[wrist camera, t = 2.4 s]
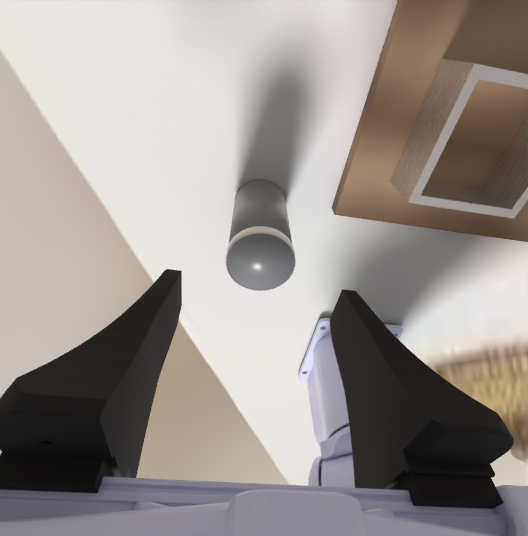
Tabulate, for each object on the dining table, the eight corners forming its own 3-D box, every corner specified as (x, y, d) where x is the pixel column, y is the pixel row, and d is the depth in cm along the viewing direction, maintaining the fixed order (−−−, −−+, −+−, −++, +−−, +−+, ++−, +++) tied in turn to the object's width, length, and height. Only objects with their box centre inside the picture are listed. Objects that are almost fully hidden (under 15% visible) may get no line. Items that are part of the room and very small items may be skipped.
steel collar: (483, 196, 20) (514, 218, 18) (389, 181, 19) (408, 202, 17) (556, 82, 16) (607, 90, 14) (441, 58, 16) (474, 63, 13)
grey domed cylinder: (280, 229, 23) (287, 294, 17) (231, 223, 22) (222, 287, 17) (290, 183, 20) (302, 239, 15) (236, 175, 20) (228, 229, 15)
